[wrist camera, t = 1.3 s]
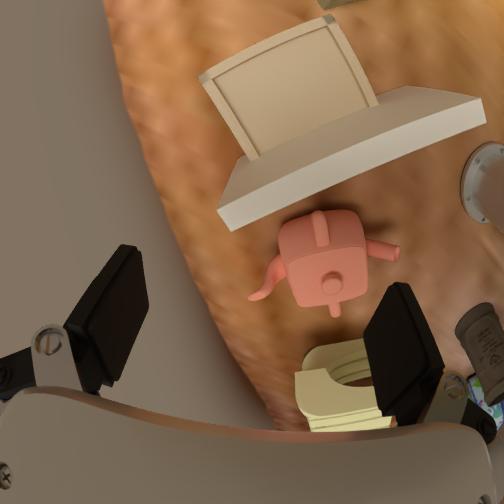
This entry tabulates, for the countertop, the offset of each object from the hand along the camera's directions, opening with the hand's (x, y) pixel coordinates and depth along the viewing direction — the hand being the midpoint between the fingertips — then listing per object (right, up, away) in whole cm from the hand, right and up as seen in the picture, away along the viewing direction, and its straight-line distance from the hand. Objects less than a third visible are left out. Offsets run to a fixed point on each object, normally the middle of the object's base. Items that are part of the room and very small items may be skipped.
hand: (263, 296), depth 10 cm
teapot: (+8, +4, +26) cm, 28 cm away
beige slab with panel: (+6, +19, +16) cm, 26 cm away
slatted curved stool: (+18, -20, +42) cm, 50 cm away
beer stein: (+49, -14, +35) cm, 62 cm away
